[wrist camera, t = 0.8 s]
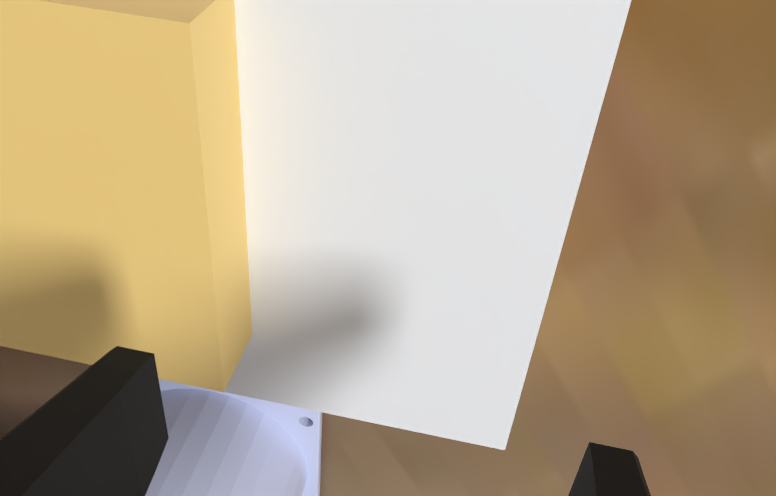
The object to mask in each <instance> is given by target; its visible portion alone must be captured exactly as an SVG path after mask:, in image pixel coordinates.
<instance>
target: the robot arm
mask: <svg viewBox="0 0 776 496" xmlns="http://www.w3.org/2000/svg"><path fill="white" fill-rule="evenodd" d="M321 434H322V412H319V411H314V410H309V409H304V408H299V407H294V406H290V405H285V404H280V403H275V402H270V401H266V400H261V399H256V398H251V397H246V396H242V395H237V394H232V393H227V392H219V391H215V390H210V389H205V388H200V387H195V386H190V385H186V384H181V383H176V382H171V381H166V380H162V379H158V373H157V367H156V362H155V356H154V353H149V352H144V351H139V350H134V349H129V348H125V347H120V346H116V347H115V348H113V349H112V350H110V351H109V352H108V353H106V354H105V355H104V356H103V357H102V358H100V359H99V360H98V361H97V362H95V363H94V364H93V365H92V366H91V367H89V368H88V369H87V370H86V371H84V372H83V373H82V374H81V375H80V376H78V377H77V378H76V379H75V380H74V381H72V382H71V383H70V384H69V385H67V386H66V387H65V388H64V389H63V390H61V391H60V392H59V393H58V394H56V395H55V396H54V397H53V398H51V399H50V400H49V401H48V402H47V403H45V404H44V405H43V406H42V407H40V408H39V409H38V410H37V411H35V412H34V413H33V414H32V415H30V416H29V417H28V418H27V419H25V420H24V421H23V422H21V423H20V424H19V425H18V426H16V427H15V428H14V429H12V430H11V431H10V432H9V433H7V434H6V435H5V436H3V437H2V438H1V439H0V496H320V466H321ZM569 496H651V495H650V492H649V489H648V487H647V484H646V481H645V478H644V475H643V472H642V469H641V466H640V463H639V459H638V457H637V456H636V455H635V453H634V452H633V451H630V450H625V449H620V448H615V447H610V446H605V445H600V444H595V443H591V442H589V444H588V447H587V450H586V452H585V455H584V457H583V460H582V462H581V465H580V467H579V470H578V473H577V475H576V478H575V480H574V483H573V485H572V488H571V490H570V493H569Z"/></svg>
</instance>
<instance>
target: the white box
mask: <svg viewBox="0 0 776 496" xmlns="http://www.w3.org/2000/svg"><path fill="white" fill-rule="evenodd" d="M630 3H631V0H234V4H235V23H236V41H237V60H238V78H239V97H240V116H241V134H242V153H243V171H244V190H245V209H246V227H247V246H248V264H249V283H250V302H251V320H252V336H251V338H250V340H249V342H248V344H247V346H246V348H245V350H244V353H243V355H242V357H241V359H240V361H239V363H238V365H237V367H236V369H235V371H234V373H233V375H232V377H231V379H230V381H229V383H228V385H227V387H226V389H225V391H224V392H227V393H232V394H237V395H242V396H246V397H251V398H256V399H261V400H266V401H270V402H275V403H280V404H285V405H290V406H294V407H299V408H304V409H309V410H314V411H319V412H323V413H328V414H333V415H338V416H343V417H347V418H352V419H357V420H362V421H367V422H371V423H376V424H381V425H386V426H391V427H395V428H400V429H405V430H410V431H415V432H420V433H424V434H429V435H434V436H439V437H444V438H448V439H453V440H458V441H463V442H468V443H472V444H477V445H482V446H487V447H492V448H496V449H501V450H505V448H506V444H507V441H508V437H509V434H510V430H511V426H512V423H513V419H514V416H515V412H516V409H517V405H518V402H519V398H520V394H521V391H522V387H523V384H524V380H525V377H526V373H527V370H528V366H529V362H530V359H531V355H532V352H533V348H534V345H535V341H536V338H537V334H538V330H539V327H540V323H541V320H542V316H543V313H544V309H545V306H546V302H547V298H548V295H549V291H550V288H551V284H552V281H553V277H554V274H555V270H556V266H557V263H558V259H559V256H560V252H561V249H562V245H563V242H564V238H565V234H566V231H567V227H568V224H569V220H570V217H571V213H572V210H573V206H574V202H575V199H576V195H577V192H578V188H579V185H580V181H581V178H582V174H583V170H584V167H585V163H586V160H587V156H588V153H589V149H590V146H591V142H592V138H593V135H594V131H595V128H596V124H597V121H598V117H599V114H600V110H601V106H602V103H603V99H604V96H605V92H606V89H607V85H608V82H609V78H610V74H611V71H612V67H613V64H614V60H615V57H616V53H617V50H618V46H619V42H620V39H621V35H622V32H623V28H624V25H625V21H626V18H627V14H628V10H629V7H630Z"/></svg>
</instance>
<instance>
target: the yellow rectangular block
mask: <svg viewBox="0 0 776 496" xmlns="http://www.w3.org/2000/svg"><path fill="white" fill-rule="evenodd" d="M251 336H252V320H251V302H250V283H249V264H248V246H247V227H246V209H245V190H244V171H243V153H242V134H241V116H240V97H239V78H238V60H237V41H236V23H235V4H234V0H0V346H3V347H8V348H13V349H17V350H22V351H27V352H32V353H37V354H41V355H46V356H51V357H56V358H61V359H65V360H70V361H75V362H80V363H85V364H90V365H93V364H94V363H95V362H97V361H98V360H99V359H100V358H102V357H103V356H104V355H105V354H106V353H108V352H109V351H110V350H112V349H113V348H115V347H116V346H120V347H125V348H129V349H134V350H139V351H144V352H149V353H154V356H155V362H156V367H157V373H158V379H162V380H166V381H171V382H176V383H181V384H186V385H190V386H195V387H200V388H205V389H210V390H215V391H219V392H224V391H225V389H226V387H227V385H228V383H229V381H230V379H231V377H232V375H233V373H234V371H235V369H236V367H237V365H238V363H239V361H240V359H241V357H242V355H243V353H244V350H245V348H246V346H247V344H248V342H249V340H250V338H251Z"/></svg>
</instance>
